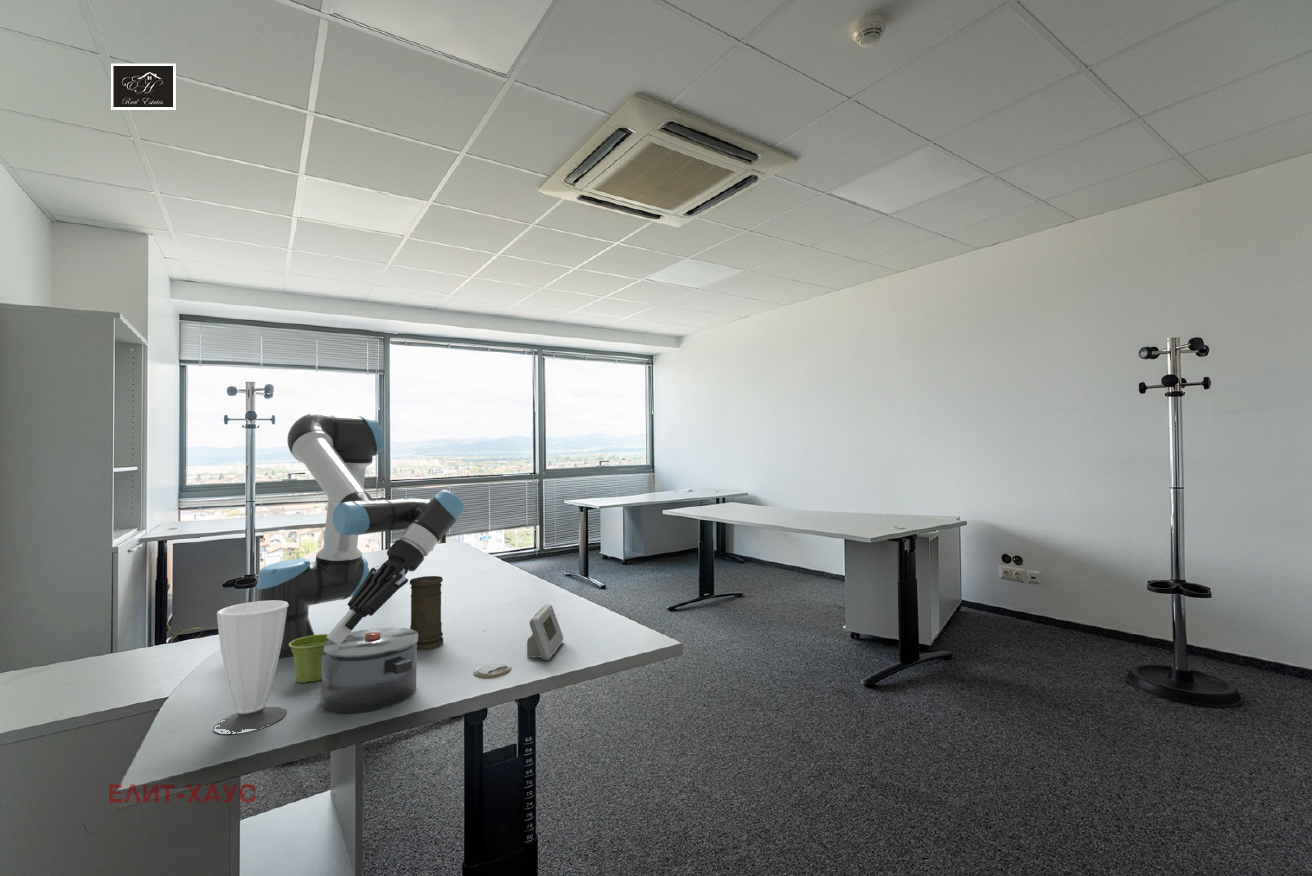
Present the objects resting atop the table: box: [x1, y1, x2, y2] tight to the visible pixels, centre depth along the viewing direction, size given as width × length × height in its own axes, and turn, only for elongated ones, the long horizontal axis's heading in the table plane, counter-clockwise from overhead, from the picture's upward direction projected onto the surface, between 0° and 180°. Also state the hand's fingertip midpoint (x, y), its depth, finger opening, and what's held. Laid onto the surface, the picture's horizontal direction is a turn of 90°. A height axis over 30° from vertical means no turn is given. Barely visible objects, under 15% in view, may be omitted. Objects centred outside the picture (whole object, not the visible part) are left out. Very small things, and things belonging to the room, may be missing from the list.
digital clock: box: [526, 604, 564, 661], centre depth 145 cm, size 16×9×11 cm, turn 166°
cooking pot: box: [320, 643, 418, 715], centre depth 118 cm, size 27×18×10 cm, turn 54°
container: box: [409, 575, 444, 651], centre depth 151 cm, size 9×9×18 cm
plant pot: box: [289, 633, 329, 684], centre depth 128 cm, size 9×9×9 cm
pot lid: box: [324, 627, 418, 658], centre depth 118 cm, size 18×18×2 cm
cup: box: [213, 600, 289, 734], centre depth 107 cm, size 12×12×22 cm
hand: (332, 641), depth 112 cm, fingers closed
